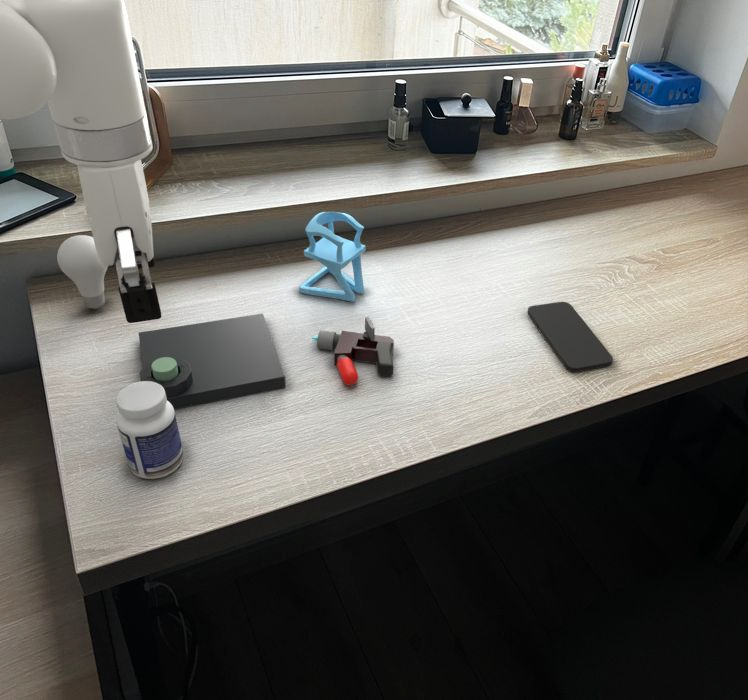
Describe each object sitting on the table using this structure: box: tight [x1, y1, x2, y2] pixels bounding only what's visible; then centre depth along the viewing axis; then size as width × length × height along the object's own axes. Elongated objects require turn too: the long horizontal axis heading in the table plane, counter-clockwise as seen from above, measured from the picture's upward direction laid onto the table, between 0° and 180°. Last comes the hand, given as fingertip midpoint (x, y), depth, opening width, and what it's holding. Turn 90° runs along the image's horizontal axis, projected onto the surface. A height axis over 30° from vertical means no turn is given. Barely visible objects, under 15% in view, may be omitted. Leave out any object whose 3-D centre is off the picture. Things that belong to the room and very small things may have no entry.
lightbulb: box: [56, 234, 109, 310], centre depth 97 cm, size 6×6×11 cm
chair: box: [298, 211, 367, 303], centre depth 106 cm, size 8×8×12 cm
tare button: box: [151, 357, 178, 381], centre depth 86 cm, size 3×3×2 cm
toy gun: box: [311, 315, 395, 386], centre depth 95 cm, size 10×12×5 cm
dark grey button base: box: [138, 313, 287, 410], centre depth 92 cm, size 16×14×4 cm
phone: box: [526, 301, 614, 373], centre depth 106 cm, size 7×1×15 cm
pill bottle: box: [115, 381, 184, 480], centre depth 77 cm, size 6×6×10 cm
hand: (142, 292), depth 75 cm, fingers open, 9 cm apart
